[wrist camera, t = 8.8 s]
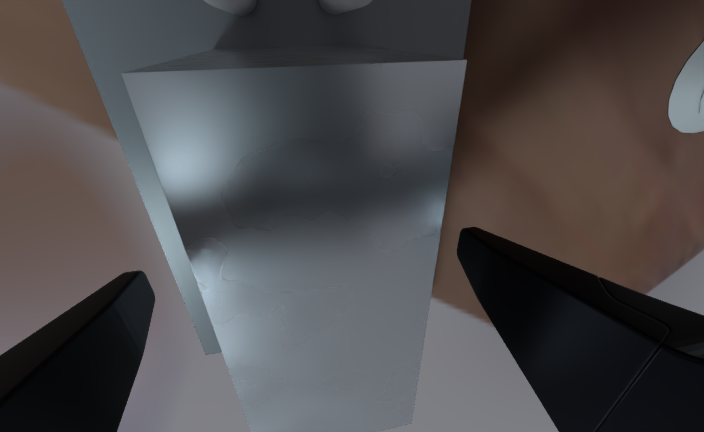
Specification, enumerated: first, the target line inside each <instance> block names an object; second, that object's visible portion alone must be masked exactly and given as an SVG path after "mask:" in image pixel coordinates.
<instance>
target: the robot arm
mask: <svg viewBox="0 0 704 432" xmlns="http://www.w3.org/2000/svg"><path fill="white" fill-rule="evenodd" d="M457 256H458V259H459V261H460V263H461V265H462V267H463V269H464V271H465V274H466V276H467V278H468V280H469V282H470V284H471V286H472V288H473V290H474V293H475V294H476V296H477V298H478V300H479V302H480V304H481V305H482V307H483V309H484V310H485V312H486V313H487V315H488V317H489V318H490V320H491V322H492V323H493V325H494V326H495V328H496V330H497V331H498V333H499V335H500V336H501V338H502V339H503V341H504V343H505V344H506V346H507V348H508V349H509V351H510V352H511V354H512V356H513V357H514V359H515V361H516V362H517V364H518V366H519V367H520V369H521V370H522V372H523V374H524V375H525V377H526V379H527V380H528V382H529V384H530V385H531V387H532V388H533V390H534V392H535V393H536V395H537V397H538V398H539V400H540V401H541V403H542V405H543V406H544V408H545V410H546V411H547V413H548V414H549V416H550V418H551V419H552V421H553V423H554V424H555V426H556V428H557V429H558V431H559V432H704V315H701V314H698V313H695V312H692V311H689V310H686V309H684V308H681V307H678V306H675V305H672V304H669V303H667V302H664V301H661V300H658V299H656V298H653V297H650V296H647V295H645V294H642V293H639V292H637V291H634V290H631V289H629V288H626V287H624V286H621V285H619V284H616V283H614V282H611V281H609V280H606V279H604V278H601V277H599V278H598V276H596V275H594V274H591V273H589V272H586V271H584V270H581V269H579V268H576V267H574V266H571V265H569V264H566V263H564V262H561V261H559V260H556V259H554V258H551V257H549V256H546V255H544V254H541V253H539V252H537V251H534V250H532V249H529V248H527V247H524V246H522V245H519V244H517V243H514V242H512V241H509V240H507V239H504V238H502V237H499V236H497V235H494V234H492V233H489V232H487V231H484V230H482V229H479V228H477V227H469V228H463V229H462V230H461V232H460V236H459V242H458V247H457ZM154 303H155V295H154V292H153V290H152V288H151V285H150V283H149V281H148V279H147V277H146V275H145V273H144V272H143V271H131V272H126V273H123V274H121V275H119V276H118V277H117V278H115V279H114V280H112V281H111V282H109V283H108V284H106V285H105V286H103V287H102V288H100V289H99V290H97V291H96V292H94V293H93V294H91V295H90V296H88V297H87V298H85V299H84V300H82V301H81V302H79V303H78V304H76V305H75V306H73V307H72V308H70V309H69V310H68V311H66V312H64V313H63V314H61V315H60V316H58V317H57V318H56V319H54V320H52V321H51V322H49V323H48V324H47V325H45V326H44V327H42V328H41V329H39V330H38V331H36V332H35V333H33V334H32V335H30V336H29V337H27V338H26V339H24V340H23V341H21V342H20V343H18V344H17V345H15V346H14V347H12V348H11V349H9V350H8V351H6V352H5V353H3V354H2V355H0V432H117V430H118V427H119V424H120V421H121V418H122V415H123V412H124V409H125V406H126V404H127V401H128V398H129V395H130V392H131V389H132V386H133V383H134V380H135V377H136V374H137V372H138V369H139V366H140V363H141V360H142V356H143V353H144V349H145V344H146V339H147V335H148V331H149V326H150V322H151V317H152V312H153V308H154Z"/></svg>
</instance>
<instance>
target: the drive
mask: <svg viewBox="0 0 704 432" xmlns="http://www.w3.org/2000/svg"><path fill="white" fill-rule="evenodd" d="M466 64H467V60H464V59H457V58H451V57H444V56H438V55H431V54H425V53H418V52H411V51H405V50H398V49H392V48H385V47H379V46H372V45H344V46H309V47H274V48H238V49H212V50H208V51H204V52H200V53H196V54H193V55H189V56H185V57H181V58H177V59H174V60H170V61H166V62H162V63H158V64H154V65H151V66H147V67H143V68H139V69H135V70H132V71H128V72H124V73H121V74H122V77H123V80H124V83H125V85H126V88H127V91H128V94H129V96H130V99H131V102H132V105H133V107H134V110H135V113H136V116H137V118H138V121H139V124H140V127H141V129H142V132H143V135H144V138H145V141H146V143H147V146H148V149H149V152H150V154H151V157H152V160H153V163H154V165H155V168H156V171H157V174H158V176H159V179H160V182H161V185H162V187H163V190H164V193H165V196H166V199H167V201H168V204H169V207H170V210H171V212H172V215H173V218H174V221H175V223H176V226H177V229H178V232H179V234H180V237H181V240H182V243H183V245H184V248H185V251H186V254H187V257H188V259H189V262H190V265H191V268H192V270H193V273H194V276H195V279H196V281H197V284H198V287H199V290H200V292H201V295H202V298H203V301H204V303H205V306H206V309H207V312H208V314H209V317H210V320H211V323H212V326H213V328H214V331H215V334H216V337H217V339H218V342H219V345H220V348H221V350H222V353H223V356H224V359H225V361H226V364H227V367H228V370H229V372H230V375H231V378H232V381H233V383H234V386H235V389H236V392H237V395H238V397H239V400H240V403H241V405H242V408H243V411H244V414H245V417H246V419H247V422H248V425H249V428H250V430H251V432H377V431H382V430H386V429H390V428H395V427H399V426H403V425H407V424H411V422H412V416H413V410H414V403H415V397H416V390H417V383H418V377H419V370H420V364H421V357H422V351H423V344H424V338H425V331H426V325H427V318H428V312H429V305H430V299H431V292H432V286H433V279H434V273H435V266H436V260H437V253H438V247H439V240H440V234H441V227H442V221H443V214H444V208H445V201H446V195H447V188H448V182H449V175H450V168H451V162H452V155H453V149H454V142H455V136H456V129H457V123H458V116H459V110H460V103H461V97H462V90H463V84H464V77H465V71H466Z"/></svg>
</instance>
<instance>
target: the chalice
mask: <svg viewBox="0 0 704 432" xmlns="http://www.w3.org/2000/svg"><path fill="white" fill-rule="evenodd" d="M668 115H669V118H670V121H671V123H672V126H673V127H675V128H676V129H677V130H679V131H680V132H685V133H696V132H700V131H704V41H703V42H702V44H701V45H700V46H699V47H698V49H697V50H696V51H695V52H694V53H693V55H692V56H691V57H690V58H689V60H688V61H687V62H686V64H685V66H684V67H683V69H682V71H681V73H680V74H679V76H678V78H677V80H676V81H675V84H674V87H673V90H672V93H671V96H670V99H669V112H668Z"/></svg>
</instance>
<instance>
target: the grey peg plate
mask: <svg viewBox="0 0 704 432" xmlns="http://www.w3.org/2000/svg"><path fill="white" fill-rule="evenodd" d="M62 2H63V4H64V7H65V9H66V12H67V14H68V17H69V19H70V21H71V24H72V26H73V29H74V31H75V34H76V36H77V39H78V41H79V44H80V46H81V49H82V51H83V54H84V56H85V58H86V61H87V63H88V66H89V68H90V71H91V73H92V76H93V78H94V81H95V83H96V86H97V88H98V91H99V93H100V95H101V98H102V100H103V103H104V105H105V108H106V110H107V113H108V115H109V118H110V120H111V123H112V125H113V127H114V130H115V132H116V135H117V137H118V140H119V142H120V145H121V147H122V150H123V152H124V155H125V157H126V160H127V162H128V164H129V167H130V169H131V172H132V174H133V177H134V179H135V182H136V184H137V187H138V189H139V192H140V194H141V197H142V199H143V201H144V203H145V206H146V209H147V211H148V214H149V216H150V219H151V221H152V223H153V226H154V229H155V231H156V233H157V236H158V238H159V241H160V243H161V246H162V248H163V251H164V253H165V256H166V258H167V260H168V263H169V265H170V268H171V270H172V273H173V275H174V278H175V280H176V282H177V285H178V288H179V290H180V293H181V295H182V298H183V300H184V303H185V305H186V307H187V310H188V312H189V315H190V317H191V319H192V322H193V325H194V327H195V329H196V332H197V334H198V337H199V339H200V342H201V344H202V347H203V349H204V352H205V354H206V355H209V354H214V353H220V352H222V350H221V348H220V345H219V342H218V339H217V337H216V334H215V331H214V328H213V326H212V323H211V320H210V317H209V314H208V312H207V309H206V306H205V303H204V301H203V298H202V295H201V292H200V290H199V287H198V284H197V281H196V279H195V276H194V273H193V270H192V268H191V265H190V262H189V259H188V257H187V254H186V251H185V248H184V245H183V243H182V240H181V237H180V234H179V232H178V229H177V226H176V223H175V221H174V218H173V215H172V212H171V210H170V207H169V204H168V201H167V199H166V196H165V193H164V190H163V187H162V185H161V182H160V179H159V176H158V174H157V171H156V168H155V165H154V163H153V160H152V157H151V154H150V152H149V149H148V146H147V143H146V141H145V138H144V135H143V132H142V129H141V127H140V124H139V121H138V118H137V116H136V113H135V110H134V107H133V105H132V102H131V99H130V96H129V94H128V91H127V88H126V85H125V83H124V80H123V77H122V74H121V73H124V72H128V71H132V70H135V69H139V68H143V67H147V66H151V65H154V64H158V63H162V62H166V61H170V60H174V59H177V58H181V57H185V56H189V55H193V54H196V53H200V52H204V51H208V50H212V49H238V48H274V47H309V46H344V45H372V46H379V47H385V48H392V49H398V50H405V51H411V52H418V53H425V54H431V55H438V56H444V57H451V58H457V59H463V56H464V49H465V42H466V36H467V29H468V22H469V15H470V8H471V2H472V0H62Z"/></svg>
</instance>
